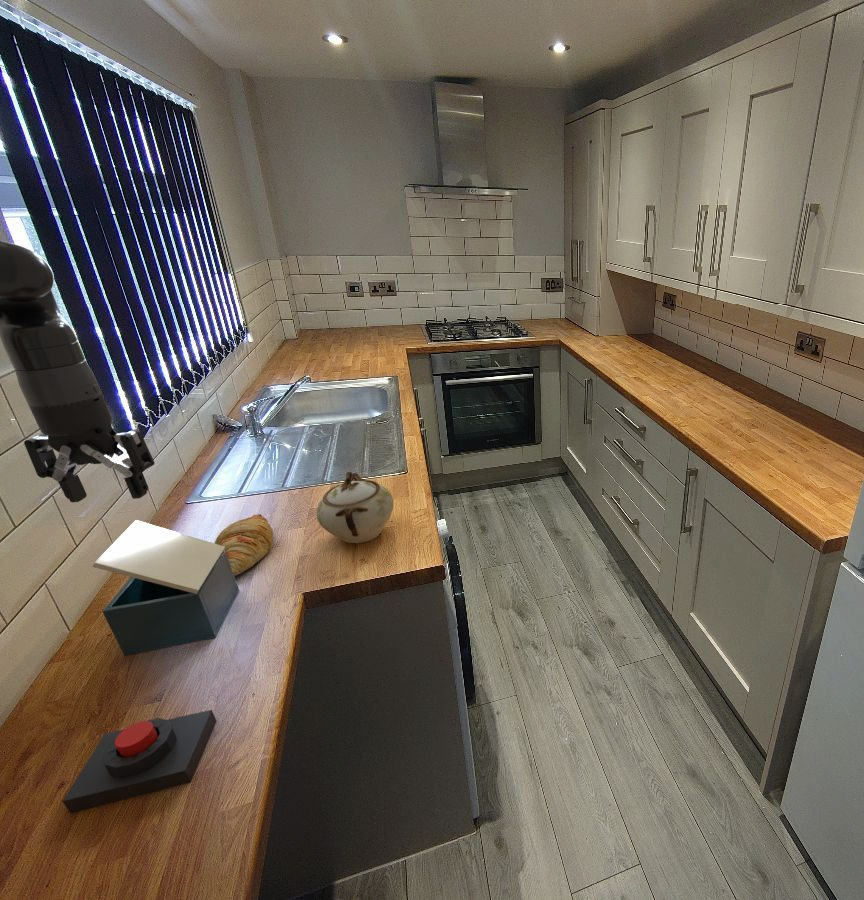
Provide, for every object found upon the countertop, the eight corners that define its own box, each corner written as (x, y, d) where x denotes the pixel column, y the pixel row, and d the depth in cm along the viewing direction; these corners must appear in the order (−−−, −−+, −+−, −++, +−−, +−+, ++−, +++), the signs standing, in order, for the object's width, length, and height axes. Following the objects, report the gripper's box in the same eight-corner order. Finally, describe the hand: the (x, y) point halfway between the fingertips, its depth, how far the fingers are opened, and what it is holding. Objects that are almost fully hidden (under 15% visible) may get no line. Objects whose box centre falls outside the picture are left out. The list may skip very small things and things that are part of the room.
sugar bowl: (397, 551, 108) (384, 486, 102) (317, 566, 103) (298, 499, 97) (398, 506, 125) (387, 448, 119) (329, 517, 120) (314, 458, 114)
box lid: (92, 566, 76) (94, 562, 76) (134, 523, 87) (136, 519, 87) (196, 594, 82) (198, 590, 82) (223, 550, 93) (225, 546, 93)
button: (113, 761, 62) (108, 751, 62) (128, 735, 65) (123, 725, 65) (149, 752, 63) (144, 742, 63) (162, 727, 66) (157, 717, 66)
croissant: (256, 592, 101) (268, 558, 100) (194, 583, 97) (205, 547, 95) (277, 534, 120) (287, 504, 118) (225, 524, 115) (235, 493, 113)
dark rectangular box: (123, 655, 82) (101, 611, 79) (159, 604, 94) (141, 563, 90) (215, 637, 86) (198, 594, 82) (239, 590, 97) (225, 550, 93)
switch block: (70, 813, 60) (55, 791, 59) (111, 745, 68) (98, 723, 67) (191, 782, 63) (179, 760, 62) (216, 720, 71) (207, 699, 70)
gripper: (-18, 407, 69) (37, 514, 75) (100, 401, 70) (144, 507, 77) (32, 390, 76) (78, 489, 82) (138, 385, 77) (176, 483, 84)
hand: (110, 498), depth 79 cm, fingers open, 8 cm apart
